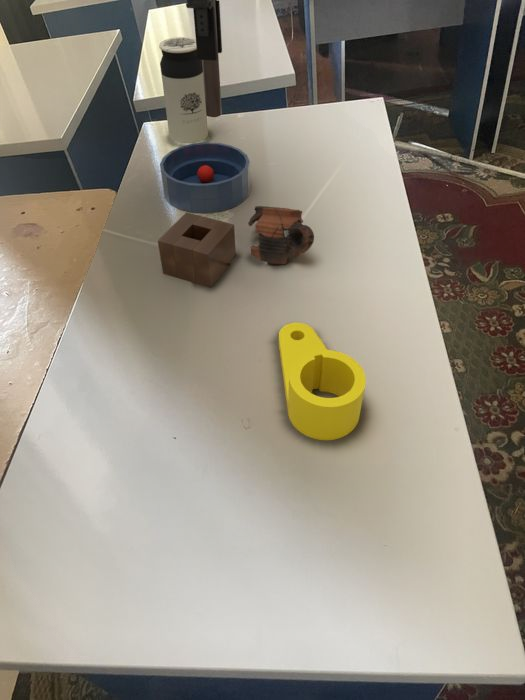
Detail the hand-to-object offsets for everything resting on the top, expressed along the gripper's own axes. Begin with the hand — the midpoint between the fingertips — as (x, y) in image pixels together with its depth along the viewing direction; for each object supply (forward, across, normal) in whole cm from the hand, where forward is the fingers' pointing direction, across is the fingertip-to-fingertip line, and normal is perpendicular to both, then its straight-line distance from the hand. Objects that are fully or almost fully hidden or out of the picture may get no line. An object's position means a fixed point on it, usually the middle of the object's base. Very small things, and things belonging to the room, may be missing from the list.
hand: (210, 55), depth 81 cm
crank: (+25, -38, -20) cm, 49 cm away
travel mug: (+25, +24, +12) cm, 37 cm away
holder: (+24, -17, -1) cm, 30 cm away
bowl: (+24, +3, +3) cm, 25 cm away
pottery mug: (+25, -11, -12) cm, 30 cm away
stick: (+8, 0, 0) cm, 8 cm away
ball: (+24, +6, +4) cm, 25 cm away
